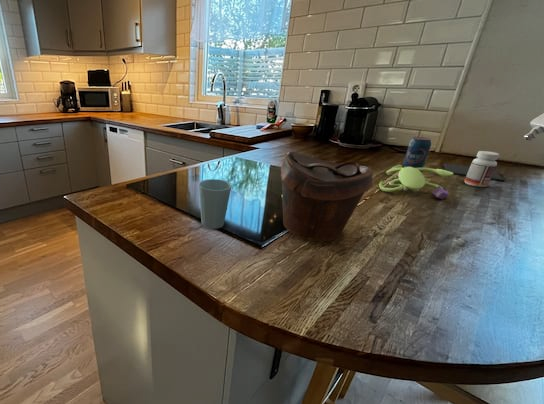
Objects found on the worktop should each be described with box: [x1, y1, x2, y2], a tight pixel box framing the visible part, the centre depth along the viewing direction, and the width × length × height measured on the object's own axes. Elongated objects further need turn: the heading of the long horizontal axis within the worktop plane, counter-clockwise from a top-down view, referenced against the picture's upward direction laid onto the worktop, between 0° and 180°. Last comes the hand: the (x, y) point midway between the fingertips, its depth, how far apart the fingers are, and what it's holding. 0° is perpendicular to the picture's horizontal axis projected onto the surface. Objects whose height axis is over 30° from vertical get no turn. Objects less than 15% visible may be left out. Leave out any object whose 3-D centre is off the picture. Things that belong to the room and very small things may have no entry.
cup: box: [198, 178, 232, 230], centre depth 72 cm, size 8×8×10 cm
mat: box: [443, 163, 505, 182], centre depth 117 cm, size 16×14×1 cm
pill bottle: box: [463, 150, 500, 188], centre depth 102 cm, size 6×6×11 cm
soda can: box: [402, 136, 432, 168], centre depth 120 cm, size 7×7×12 cm
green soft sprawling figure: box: [378, 164, 455, 200], centre depth 99 cm, size 18×27×6 cm
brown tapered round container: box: [279, 150, 374, 242], centre depth 68 cm, size 18×20×18 cm
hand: (537, 141), depth 95 cm, fingers open, 8 cm apart
